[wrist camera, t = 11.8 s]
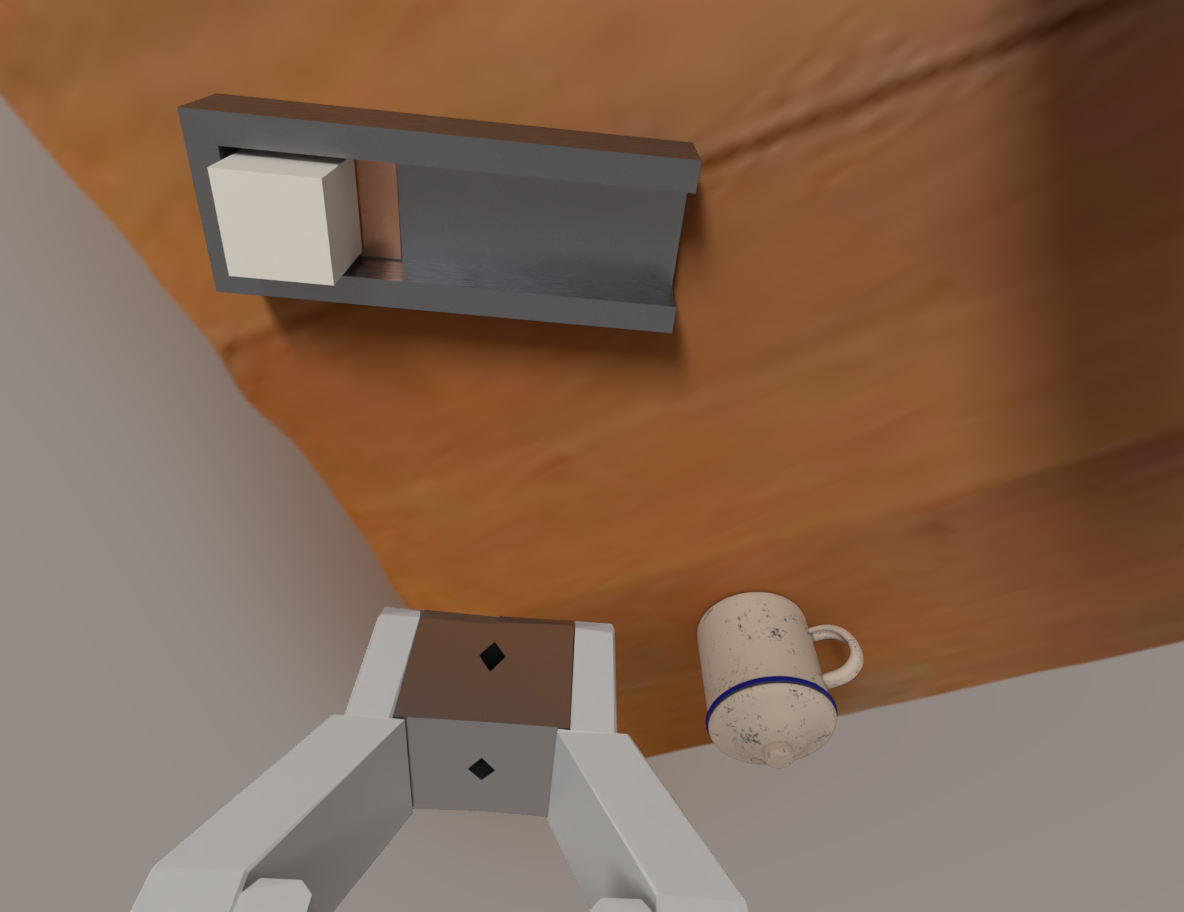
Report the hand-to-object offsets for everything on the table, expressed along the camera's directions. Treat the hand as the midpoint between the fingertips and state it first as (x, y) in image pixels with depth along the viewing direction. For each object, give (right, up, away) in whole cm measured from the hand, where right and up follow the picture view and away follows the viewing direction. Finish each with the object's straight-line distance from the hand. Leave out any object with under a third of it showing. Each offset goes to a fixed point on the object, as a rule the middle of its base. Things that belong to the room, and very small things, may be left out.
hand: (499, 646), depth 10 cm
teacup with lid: (+15, -10, +47) cm, 51 cm away
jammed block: (-14, +16, +28) cm, 35 cm away
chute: (-6, +16, +29) cm, 34 cm away
